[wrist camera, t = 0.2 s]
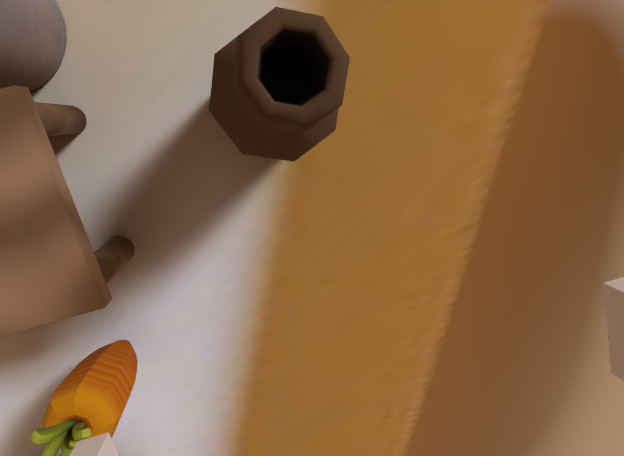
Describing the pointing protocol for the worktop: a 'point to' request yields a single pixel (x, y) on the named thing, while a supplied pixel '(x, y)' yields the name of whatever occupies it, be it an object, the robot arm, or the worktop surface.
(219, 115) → the beer bottle
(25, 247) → the walnut stool
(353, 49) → the worktop surface
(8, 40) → the pillar candle
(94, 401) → the carrot
